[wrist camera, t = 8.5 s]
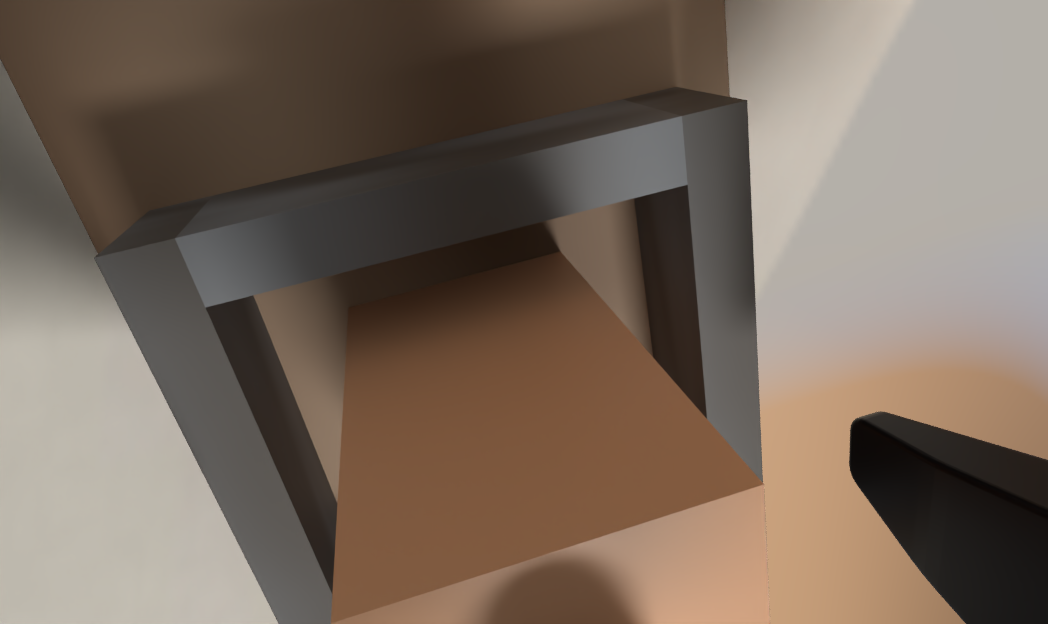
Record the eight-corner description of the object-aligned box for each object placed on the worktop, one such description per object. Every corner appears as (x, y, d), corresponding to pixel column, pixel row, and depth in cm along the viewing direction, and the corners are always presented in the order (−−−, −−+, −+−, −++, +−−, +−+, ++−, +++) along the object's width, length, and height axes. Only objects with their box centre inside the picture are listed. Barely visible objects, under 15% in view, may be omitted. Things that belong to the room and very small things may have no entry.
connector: (407, 480, 14) (464, 1077, 6) (347, 307, 12) (319, 830, 4) (591, 425, 14) (868, 909, 6) (560, 251, 12) (888, 626, 5)
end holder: (344, 714, 17) (340, 855, 14) (-47, -94, 9) (-233, -150, 6) (740, 581, 18) (810, 685, 15) (688, -223, 10) (809, -317, 8)
